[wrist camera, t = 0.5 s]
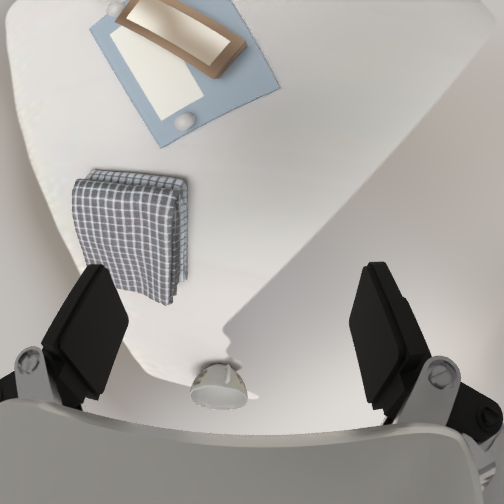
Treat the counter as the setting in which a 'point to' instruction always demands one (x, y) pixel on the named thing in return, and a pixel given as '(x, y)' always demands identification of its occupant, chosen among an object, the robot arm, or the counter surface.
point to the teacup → (219, 388)
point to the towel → (134, 229)
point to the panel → (181, 73)
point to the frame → (184, 33)
